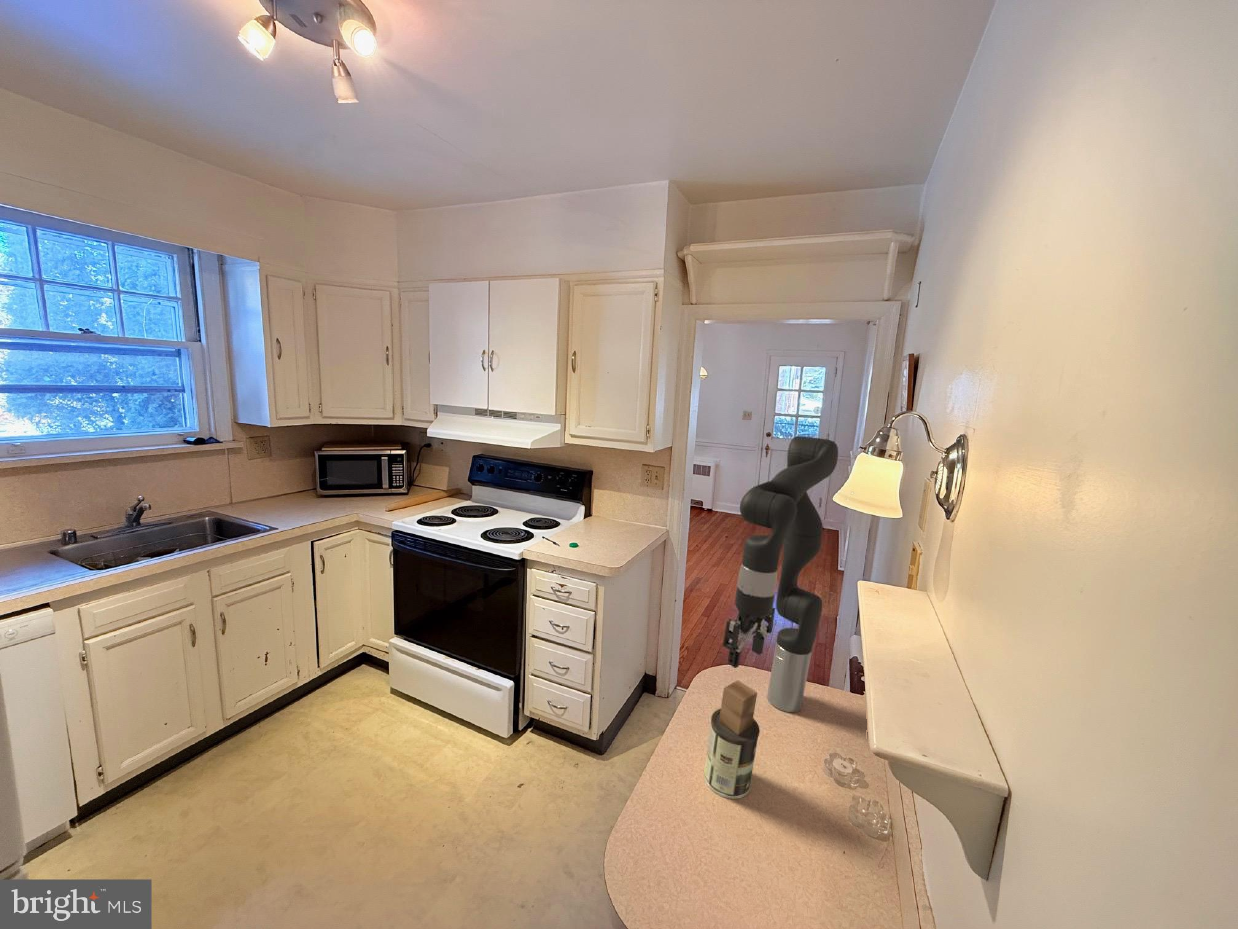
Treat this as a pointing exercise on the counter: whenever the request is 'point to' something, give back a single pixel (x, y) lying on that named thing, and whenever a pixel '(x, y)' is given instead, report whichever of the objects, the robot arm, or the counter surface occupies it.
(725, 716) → the walnut block
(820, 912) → the counter surface
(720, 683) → the counter surface
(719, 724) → the coffee can
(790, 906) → the counter surface
